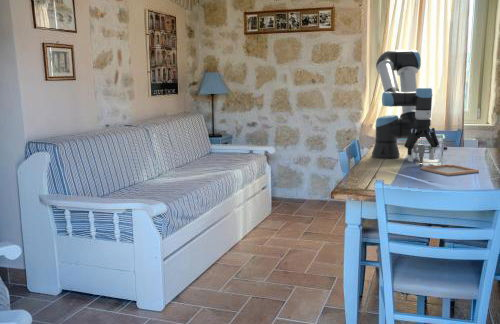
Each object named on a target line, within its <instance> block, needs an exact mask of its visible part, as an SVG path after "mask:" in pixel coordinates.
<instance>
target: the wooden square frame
mask: <svg viewBox="0 0 500 324" xmlns="http://www.w3.org/2000/svg"><path fill="white" fill-rule="evenodd" d="M421 169H422V170H421ZM420 170H421V171H424V170H425V171H426V172H429V173H434V174H438V175H442V176H446V177H447V176H448V177H451V176H458V175H459V176H460V175H469V174H479V171H480V170H479V169H477V168H471V167H467V166H462V165H456V164H452V163H451V164H450V163H448V164H447V163H446V164H437V165H428V166H427V165H425V166H420Z"/></svg>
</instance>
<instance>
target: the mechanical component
mask: <svg viewBox="0 0 500 324" xmlns="http://www.w3.org/2000/svg"><path fill="white" fill-rule="evenodd" d="M412 149H414V150H413V154H418V157H419V162H418V163H423V160H424V157H425V154H429V153H430V152H431V149H433V147H432V146H431V145H428V148H426V146H425V145H424V144H423V145H421V144H419V145H417V144H415V145H414V146H413V148H412Z"/></svg>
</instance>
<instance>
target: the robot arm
mask: <svg viewBox="0 0 500 324" xmlns="http://www.w3.org/2000/svg"><path fill="white" fill-rule="evenodd" d="M421 64H422V61H421V55H420V52H419V51H418V50H416V49H396V50H395V49H390V50H387V51H384V52H383V53H381V54H380V56H378V59H377V60H376V63H375V66H376V67H375V68H376V71H377V72H376V73H378V74H379V75H380V76H379V77H380V80H381V85H382V87H383V92H382V95H381V103H382V104H381V105H382V106H383V107H401V108H402V113H401V114H400V115H397V114H395V115H394V114H393V115H384V116H379V117H378V118H376V119H375V126H374V127H375V141H374V146H373V150H372V152H371V157H372V158H373V159H381V160H396V159H399V158H400V156H401V155H400V150H399V147H398V139H399V140H401V139H402V140H404V139H405V140H406V142H405V143H404V148H406V149H407V157H408V158H407V161H408V162H413V163H414V152H413V150H414V149H412V148H413V146H414V145H416V143H417V142H418V140H419V139H421V138H420V137H422V138H425V139H426V140H427V142H428V143H429V146H432V147H433V149H431V152H430V153H428V155H429V156H428V160H432V161H434V160H435V154H436V148H437V147H438V146H439V145H440V143H439V140H438V137H437V134H436V129H435V127H431V125H432V120H431V118H432V104H433V101H432V100H433V89H432V87H417V76H416V75H417V74H418V71H419V70H420V68H421ZM394 71H395V72H396V74H397V76H399V82H400V83H399V85H400V89H399V85H398V82H397V79H396V75H395V72H394Z"/></svg>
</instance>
